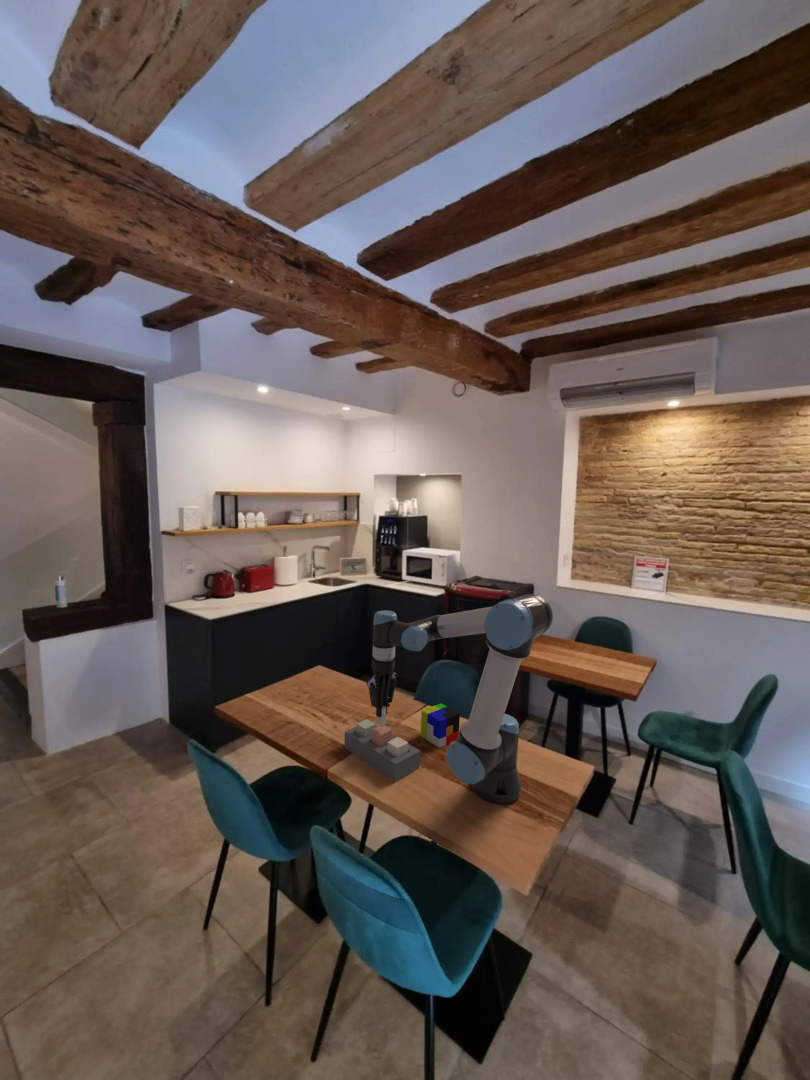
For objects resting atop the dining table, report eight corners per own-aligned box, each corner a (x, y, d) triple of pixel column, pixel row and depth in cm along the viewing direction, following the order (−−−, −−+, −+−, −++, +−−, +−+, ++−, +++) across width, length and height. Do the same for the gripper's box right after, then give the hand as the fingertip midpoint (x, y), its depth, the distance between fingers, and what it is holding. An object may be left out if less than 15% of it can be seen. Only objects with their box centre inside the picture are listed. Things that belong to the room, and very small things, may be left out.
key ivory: (407, 764, 149) (408, 742, 148) (397, 770, 145) (397, 748, 145) (397, 758, 152) (398, 736, 151) (386, 763, 149) (387, 742, 148)
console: (419, 767, 149) (420, 750, 149) (395, 782, 142) (396, 764, 141) (368, 736, 168) (368, 721, 167) (344, 747, 160) (344, 731, 159)
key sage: (375, 744, 160) (375, 724, 159) (364, 749, 157) (365, 728, 156) (366, 739, 163) (366, 719, 163) (355, 743, 160) (356, 723, 159)
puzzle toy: (439, 748, 162) (440, 721, 161) (420, 736, 169) (421, 710, 168) (458, 739, 168) (459, 713, 167) (439, 728, 176) (440, 703, 175)
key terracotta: (390, 750, 154) (391, 729, 154) (380, 756, 151) (381, 734, 150) (381, 745, 158) (382, 724, 157) (370, 750, 154) (371, 729, 154)
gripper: (390, 650, 158) (387, 714, 161) (361, 658, 149) (359, 726, 152) (405, 656, 153) (402, 722, 156) (376, 665, 144) (374, 735, 146)
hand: (381, 724), depth 154 cm, fingers closed
